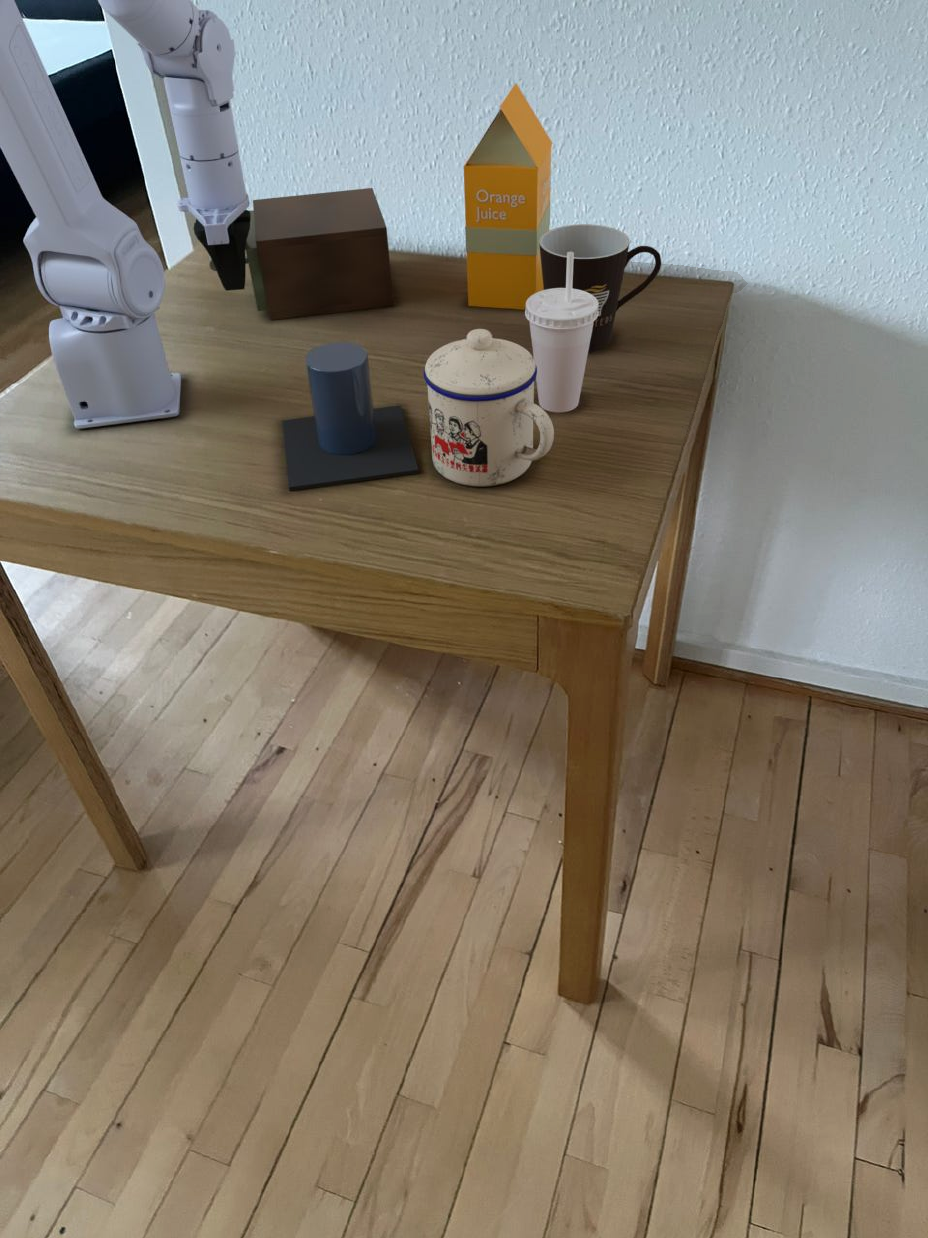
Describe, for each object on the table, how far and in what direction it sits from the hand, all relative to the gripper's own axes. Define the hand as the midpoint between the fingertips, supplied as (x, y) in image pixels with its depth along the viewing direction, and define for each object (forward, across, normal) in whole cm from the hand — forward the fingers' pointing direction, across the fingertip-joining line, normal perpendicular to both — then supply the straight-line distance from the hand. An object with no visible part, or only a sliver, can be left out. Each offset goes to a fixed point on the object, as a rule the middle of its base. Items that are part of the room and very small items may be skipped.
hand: (235, 287), depth 102 cm
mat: (+3, +29, +10) cm, 31 cm away
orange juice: (+3, 0, +30) cm, 30 cm away
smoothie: (+3, +25, +30) cm, 39 cm away
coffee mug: (+3, +14, +36) cm, 39 cm away
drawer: (+2, -5, +6) cm, 8 cm away
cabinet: (+3, -5, +10) cm, 11 cm away
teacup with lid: (+3, +34, +22) cm, 41 cm away
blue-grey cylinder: (+3, +28, +10) cm, 30 cm away
